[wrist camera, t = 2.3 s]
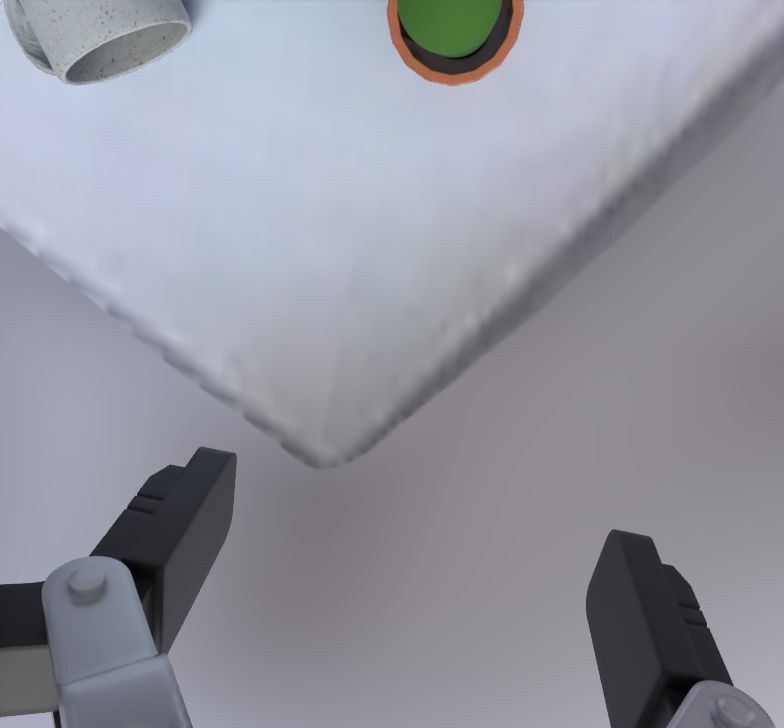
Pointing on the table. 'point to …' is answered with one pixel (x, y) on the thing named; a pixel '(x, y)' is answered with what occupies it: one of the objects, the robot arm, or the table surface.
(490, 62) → the cup
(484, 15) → the cucumber
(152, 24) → the ceramic mug
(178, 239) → the table surface
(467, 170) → the table surface
